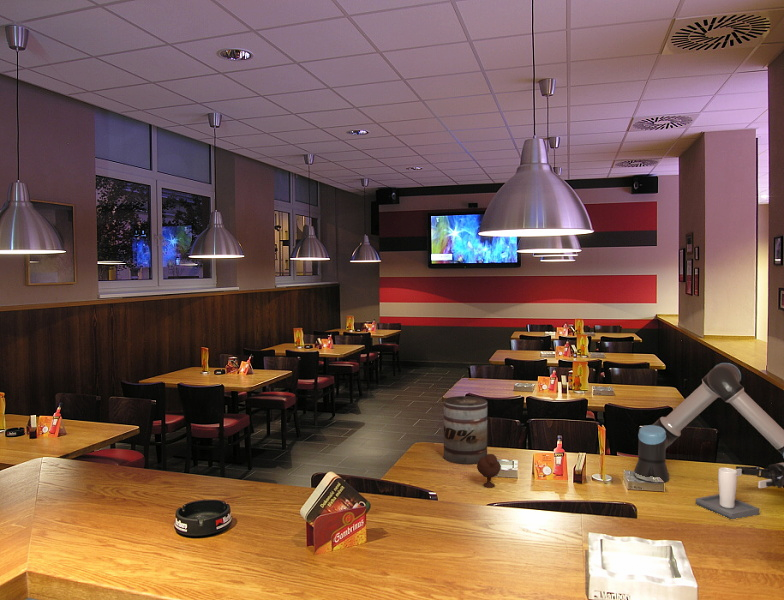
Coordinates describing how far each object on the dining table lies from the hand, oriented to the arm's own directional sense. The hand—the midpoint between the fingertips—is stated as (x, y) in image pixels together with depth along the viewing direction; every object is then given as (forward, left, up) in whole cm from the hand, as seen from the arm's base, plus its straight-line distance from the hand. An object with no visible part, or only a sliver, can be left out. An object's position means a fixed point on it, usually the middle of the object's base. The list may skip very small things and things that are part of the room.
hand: (744, 479), depth 247 cm
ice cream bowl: (-59, -86, -11) cm, 105 cm away
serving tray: (0, -9, -11) cm, 15 cm away
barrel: (-99, -77, -11) cm, 126 cm away
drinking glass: (0, -9, -10) cm, 14 cm away
